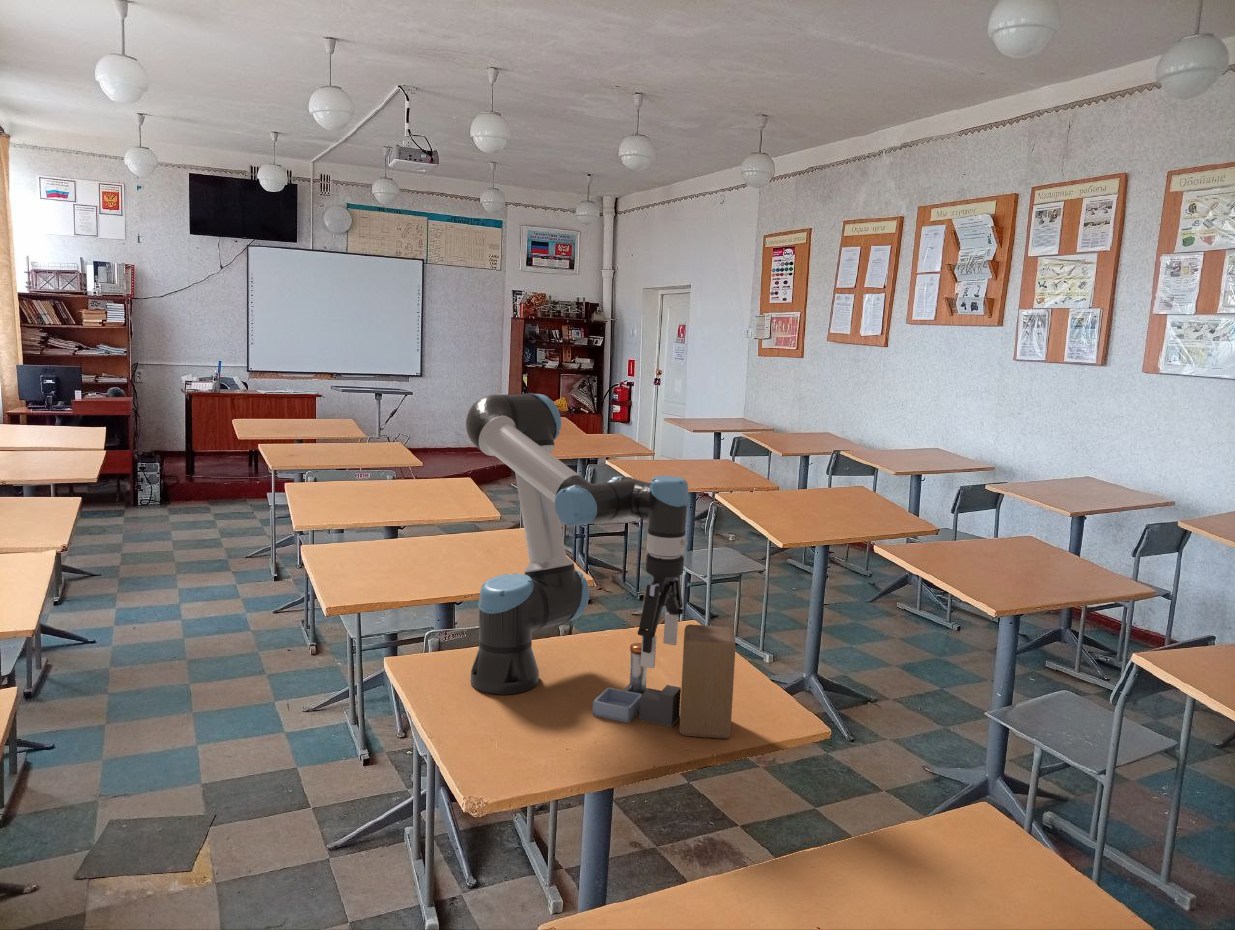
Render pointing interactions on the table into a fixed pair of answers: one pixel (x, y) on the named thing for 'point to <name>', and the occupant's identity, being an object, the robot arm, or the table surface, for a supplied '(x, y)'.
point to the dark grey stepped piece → (660, 705)
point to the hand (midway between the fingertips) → (659, 655)
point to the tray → (617, 705)
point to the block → (707, 681)
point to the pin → (637, 670)
